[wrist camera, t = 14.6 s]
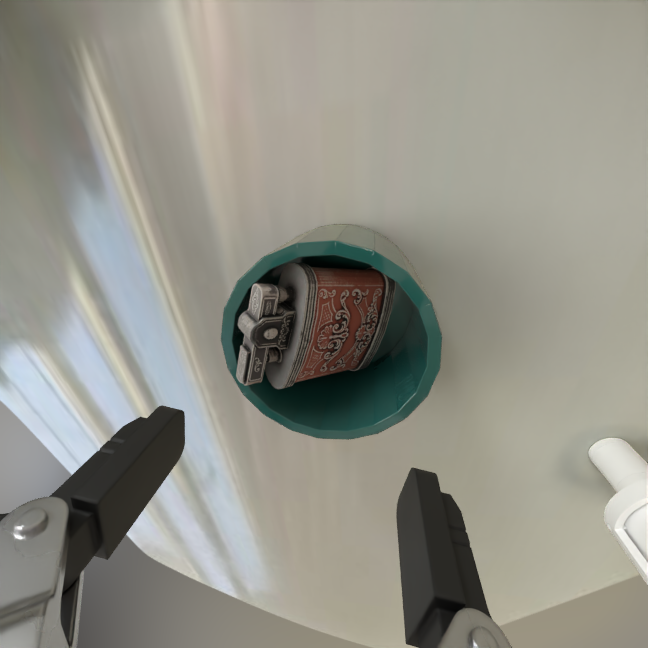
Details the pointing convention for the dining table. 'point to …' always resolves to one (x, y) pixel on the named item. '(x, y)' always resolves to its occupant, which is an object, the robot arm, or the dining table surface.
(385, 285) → the lighter
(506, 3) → the dining table surface
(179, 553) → the dining table surface
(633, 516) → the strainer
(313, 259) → the ceramic cup
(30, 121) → the dining table surface
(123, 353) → the dining table surface
